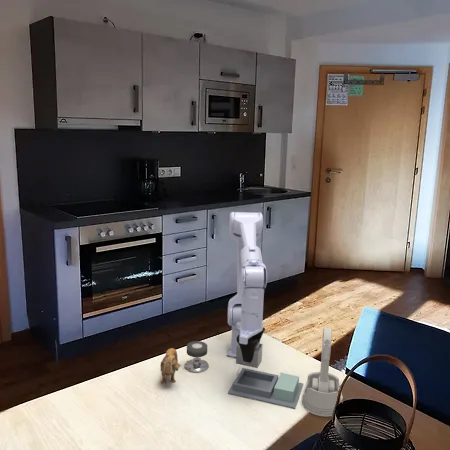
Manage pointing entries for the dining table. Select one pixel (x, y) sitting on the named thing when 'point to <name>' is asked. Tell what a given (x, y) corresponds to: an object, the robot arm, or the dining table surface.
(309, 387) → the engine component
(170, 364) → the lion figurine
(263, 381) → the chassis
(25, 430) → the dining table surface
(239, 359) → the block
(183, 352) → the dining table surface
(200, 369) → the axle mount
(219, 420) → the dining table surface
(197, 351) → the wheel
